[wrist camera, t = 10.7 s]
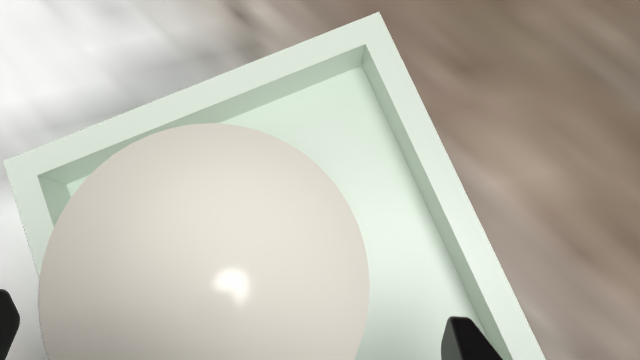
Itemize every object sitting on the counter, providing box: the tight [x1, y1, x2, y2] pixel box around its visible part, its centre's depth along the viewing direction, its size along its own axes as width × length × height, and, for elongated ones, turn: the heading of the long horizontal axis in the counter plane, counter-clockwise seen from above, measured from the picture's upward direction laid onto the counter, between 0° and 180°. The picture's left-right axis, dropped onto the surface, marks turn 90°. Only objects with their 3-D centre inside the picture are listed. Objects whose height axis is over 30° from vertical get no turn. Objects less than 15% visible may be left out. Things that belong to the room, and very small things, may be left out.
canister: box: [38, 123, 370, 360], centre depth 13 cm, size 6×6×11 cm
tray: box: [3, 12, 546, 360], centre depth 18 cm, size 15×15×2 cm
